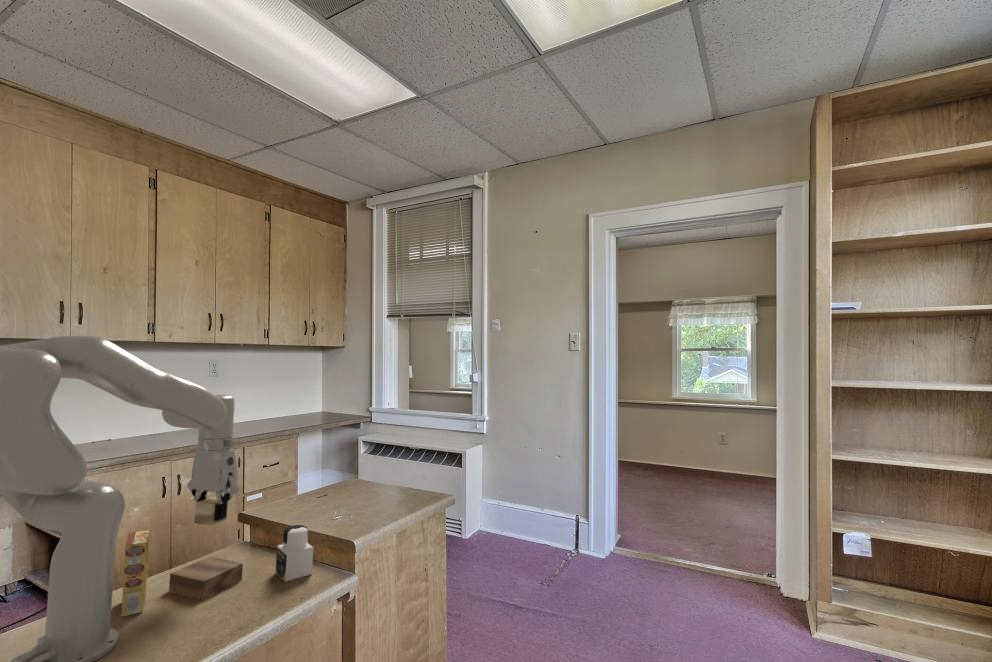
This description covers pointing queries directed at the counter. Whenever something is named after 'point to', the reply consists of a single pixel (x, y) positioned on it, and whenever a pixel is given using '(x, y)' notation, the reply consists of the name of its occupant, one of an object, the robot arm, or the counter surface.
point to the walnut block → (205, 577)
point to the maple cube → (206, 512)
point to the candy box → (135, 573)
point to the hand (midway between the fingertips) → (210, 517)
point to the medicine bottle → (294, 554)
